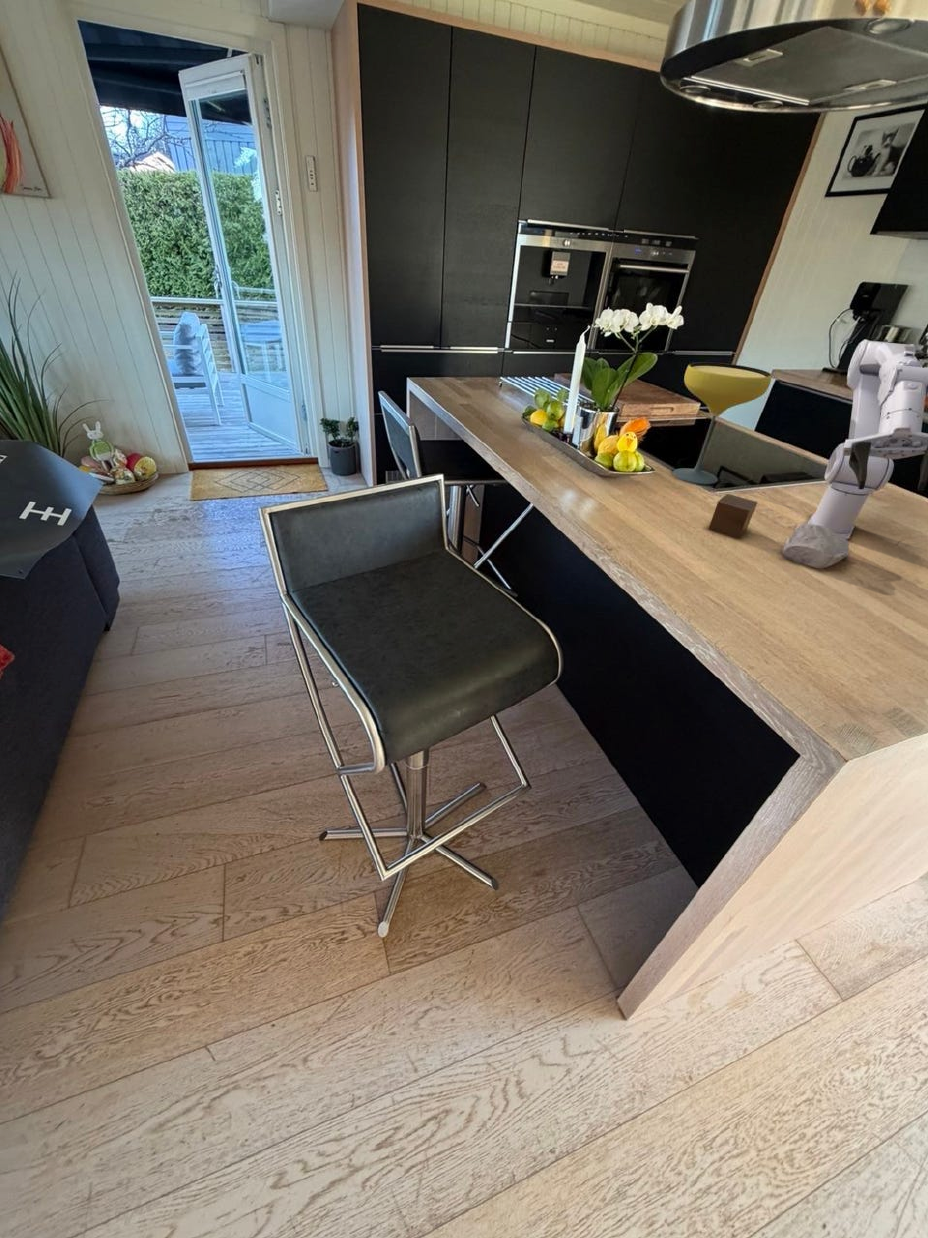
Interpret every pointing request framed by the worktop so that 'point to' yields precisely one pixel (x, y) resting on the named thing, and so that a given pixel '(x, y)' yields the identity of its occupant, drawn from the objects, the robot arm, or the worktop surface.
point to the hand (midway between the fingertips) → (891, 486)
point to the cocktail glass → (720, 399)
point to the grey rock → (815, 546)
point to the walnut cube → (732, 515)
